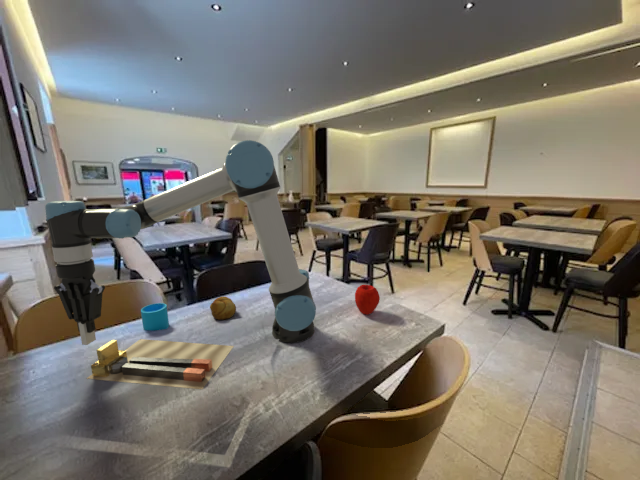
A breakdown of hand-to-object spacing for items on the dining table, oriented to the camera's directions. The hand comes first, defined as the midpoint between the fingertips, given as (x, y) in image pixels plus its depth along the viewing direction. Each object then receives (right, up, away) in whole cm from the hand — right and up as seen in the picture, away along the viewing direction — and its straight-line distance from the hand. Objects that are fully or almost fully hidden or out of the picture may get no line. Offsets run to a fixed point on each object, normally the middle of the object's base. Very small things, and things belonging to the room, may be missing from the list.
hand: (89, 341), depth 76 cm
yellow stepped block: (+5, -8, +1) cm, 9 cm away
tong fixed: (+20, -8, -1) cm, 21 cm away
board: (+19, -9, +5) cm, 22 cm away
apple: (+84, -2, +37) cm, 92 cm away
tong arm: (+22, -8, +1) cm, 24 cm away
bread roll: (+25, -2, +36) cm, 44 cm away
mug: (+3, -4, +27) cm, 28 cm away
